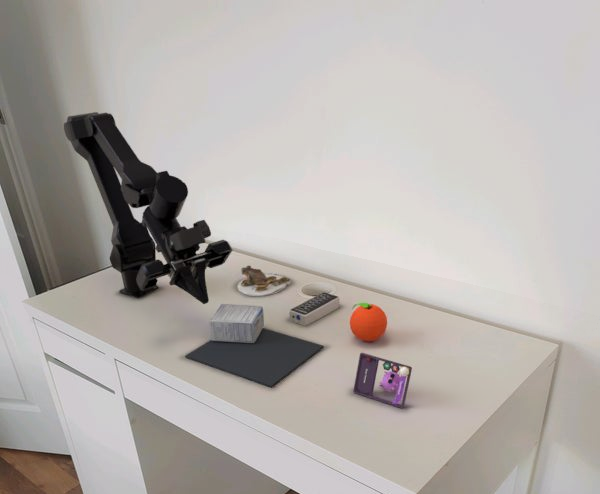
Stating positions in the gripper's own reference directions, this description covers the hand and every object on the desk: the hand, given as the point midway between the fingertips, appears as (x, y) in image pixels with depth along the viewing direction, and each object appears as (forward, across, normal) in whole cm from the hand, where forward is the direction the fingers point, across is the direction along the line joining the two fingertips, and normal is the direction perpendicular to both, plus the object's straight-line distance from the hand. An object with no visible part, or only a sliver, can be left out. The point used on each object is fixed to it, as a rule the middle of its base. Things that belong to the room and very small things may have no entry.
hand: (206, 302), depth 116 cm
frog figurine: (-4, +22, +14) cm, 26 cm away
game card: (+32, +9, -21) cm, 39 cm away
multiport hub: (+10, +21, 0) cm, 23 cm away
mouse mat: (+13, +2, -3) cm, 13 cm away
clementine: (+21, +21, -10) cm, 31 cm away
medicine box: (+3, +1, +3) cm, 5 cm away
